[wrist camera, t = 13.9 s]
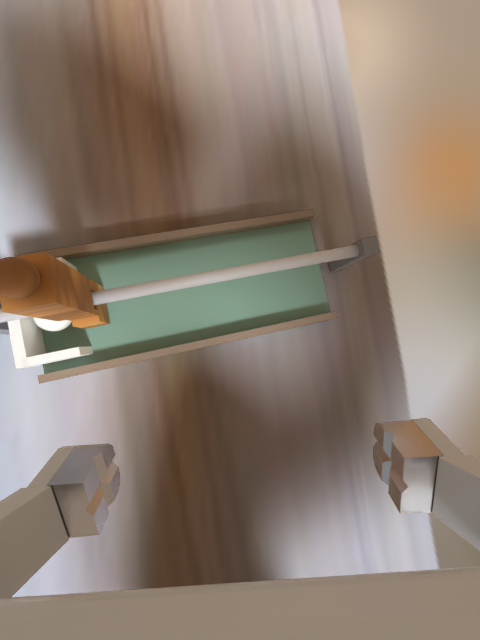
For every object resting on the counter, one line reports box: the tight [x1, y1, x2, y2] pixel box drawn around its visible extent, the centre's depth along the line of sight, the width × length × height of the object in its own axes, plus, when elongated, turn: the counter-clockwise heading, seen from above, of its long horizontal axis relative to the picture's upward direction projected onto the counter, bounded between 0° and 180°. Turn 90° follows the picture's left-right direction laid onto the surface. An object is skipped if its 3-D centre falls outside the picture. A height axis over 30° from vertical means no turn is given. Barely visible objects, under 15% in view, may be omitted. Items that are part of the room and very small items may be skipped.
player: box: [0, 252, 110, 329], centre depth 25 cm, size 4×3×16 cm
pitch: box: [0, 209, 380, 383], centre depth 32 cm, size 13×38×8 cm, turn 102°
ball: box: [33, 317, 72, 331], centre depth 31 cm, size 4×4×4 cm
